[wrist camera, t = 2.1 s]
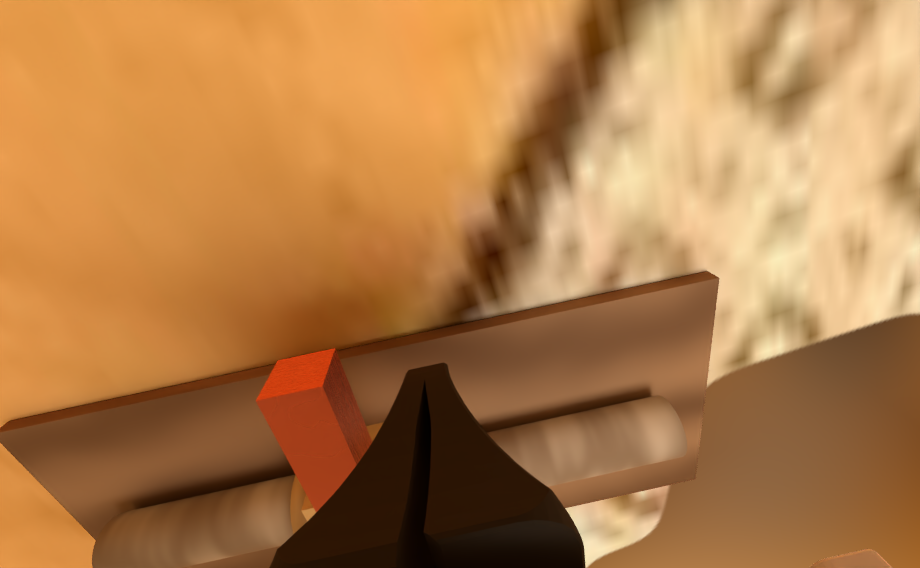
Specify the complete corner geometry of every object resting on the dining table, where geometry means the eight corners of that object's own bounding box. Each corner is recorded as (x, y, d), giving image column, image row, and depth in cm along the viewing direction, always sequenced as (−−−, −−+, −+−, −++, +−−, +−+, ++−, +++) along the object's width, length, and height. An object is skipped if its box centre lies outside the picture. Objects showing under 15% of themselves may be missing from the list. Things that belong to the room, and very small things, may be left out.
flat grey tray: (687, 468, 25) (744, 545, 20) (161, 584, 24) (105, 689, 20) (707, 271, 19) (795, 321, 14) (9, 421, 18) (-119, 519, 14)
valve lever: (419, 549, 17) (419, 609, 15) (379, 558, 17) (373, 619, 15) (337, 339, 12) (322, 386, 10) (282, 351, 12) (255, 401, 10)
